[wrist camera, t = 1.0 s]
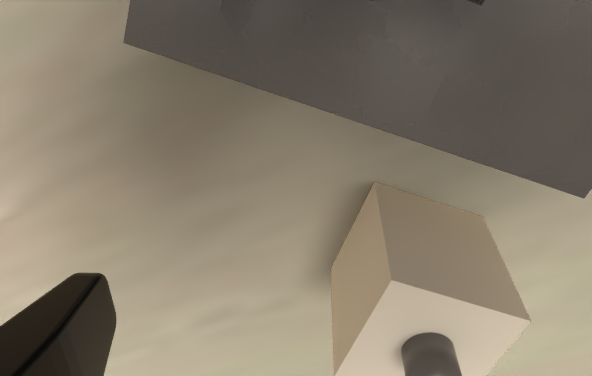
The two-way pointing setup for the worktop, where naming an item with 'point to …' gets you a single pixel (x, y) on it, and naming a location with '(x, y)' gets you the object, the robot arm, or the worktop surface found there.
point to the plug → (420, 292)
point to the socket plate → (409, 69)
